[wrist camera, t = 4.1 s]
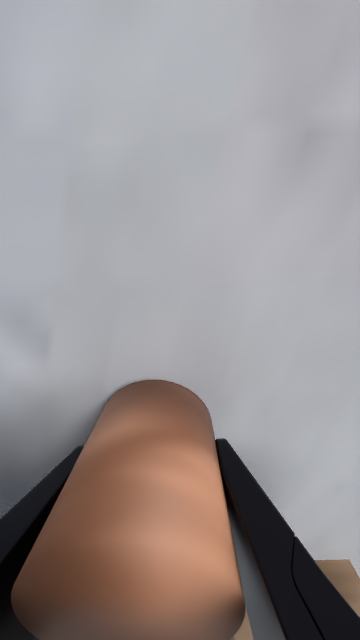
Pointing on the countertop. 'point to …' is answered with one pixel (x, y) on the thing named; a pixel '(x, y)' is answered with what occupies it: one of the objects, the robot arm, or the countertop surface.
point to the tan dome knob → (138, 531)
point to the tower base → (341, 577)
